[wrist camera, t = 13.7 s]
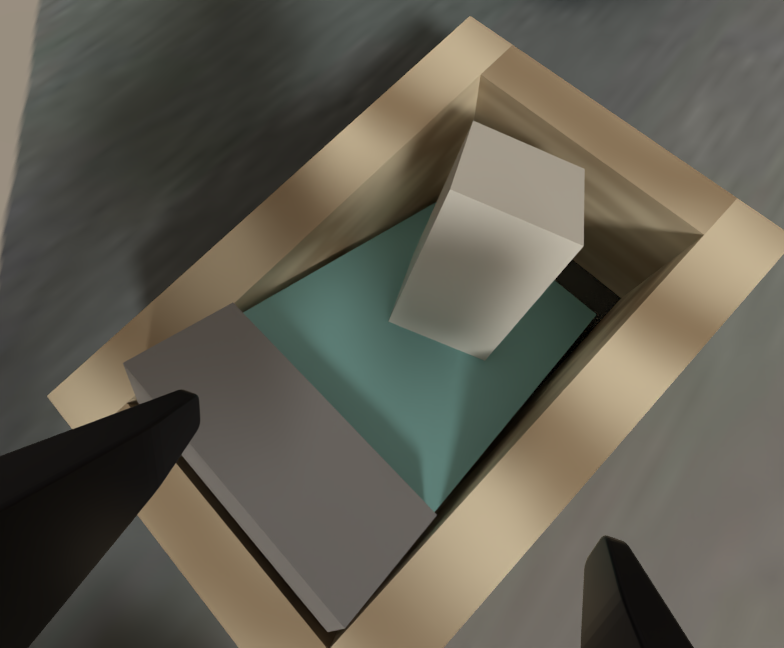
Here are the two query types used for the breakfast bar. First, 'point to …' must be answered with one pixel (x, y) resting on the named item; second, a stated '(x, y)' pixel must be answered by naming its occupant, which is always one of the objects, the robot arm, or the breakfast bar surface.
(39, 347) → the breakfast bar surface
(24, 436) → the breakfast bar surface
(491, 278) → the stone pillar
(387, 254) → the trapdoor
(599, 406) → the trapdoor box
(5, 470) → the robot arm
